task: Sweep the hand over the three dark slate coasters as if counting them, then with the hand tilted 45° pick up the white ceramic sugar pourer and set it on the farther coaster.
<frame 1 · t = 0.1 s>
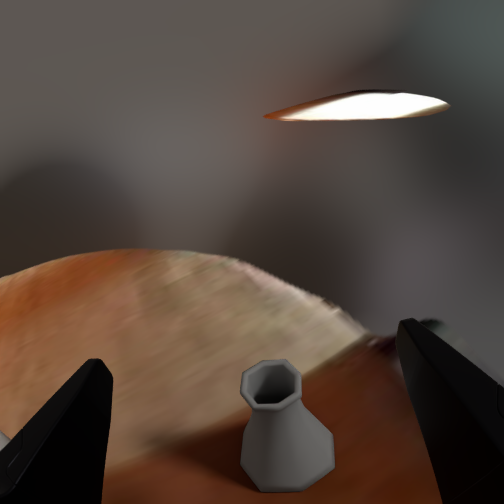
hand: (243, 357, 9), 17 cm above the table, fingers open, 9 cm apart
flask: (287, 453, 21), on the table
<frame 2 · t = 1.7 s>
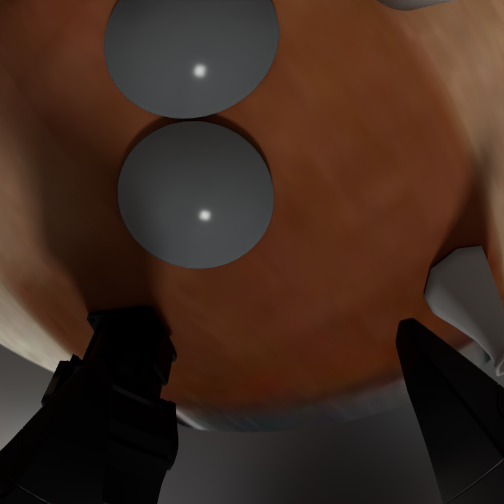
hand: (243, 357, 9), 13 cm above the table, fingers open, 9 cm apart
coaster 2: (194, 198, 20), on the table
flask: (455, 277, 24), on the table
coaster mid: (188, 36, 15), on the table
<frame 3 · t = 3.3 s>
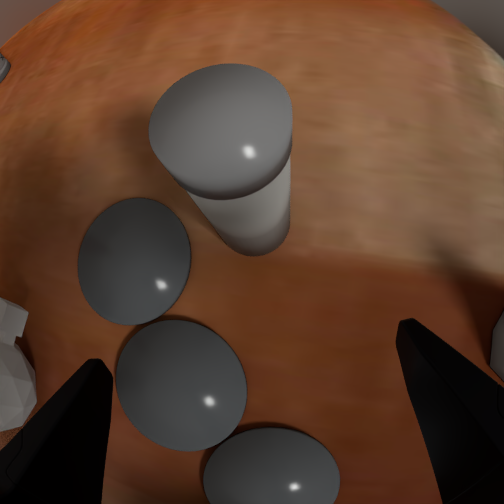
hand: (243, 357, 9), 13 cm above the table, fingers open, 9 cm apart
perfume bottle: (29, 368, 23), on the table
coaster 2: (271, 484, 19), on the table
sugar pourer: (254, 221, 24), on the table
coaster 1: (131, 260, 24), on the table
coaster mid: (178, 387, 22), on the table
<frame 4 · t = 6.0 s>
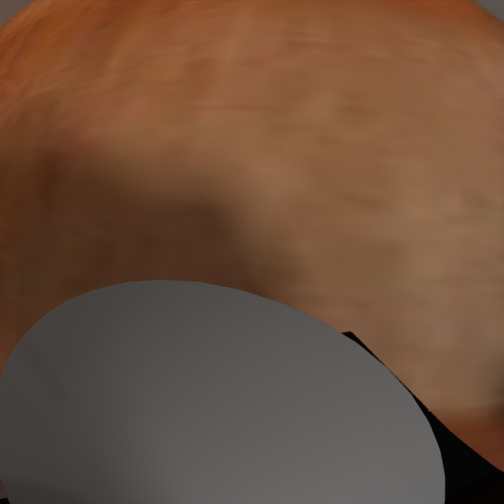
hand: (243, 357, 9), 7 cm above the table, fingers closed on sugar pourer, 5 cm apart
perfume bottle: (4, 482, 14), on the table
sugar pourer: (266, 371, 15), on the table, touching gripper
when the fingers open (8 cm above the table, at t = 9.3 s): sugar pourer drops 1 cm, resting on coaster 1.
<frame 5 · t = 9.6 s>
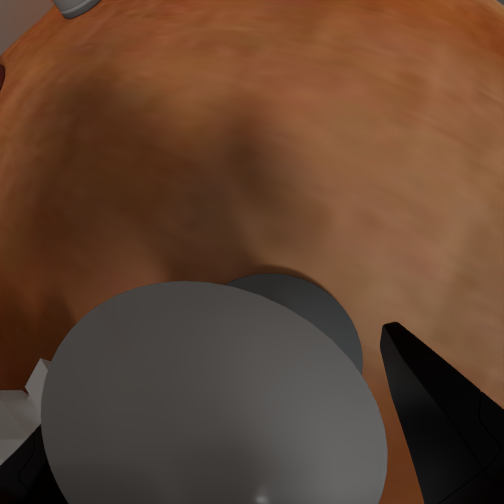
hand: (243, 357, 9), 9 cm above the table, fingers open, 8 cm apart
travel mug: (85, 4, 28), on the table
perfume bottle: (67, 434, 17), on the table
sugar pourer: (268, 369, 16), point 1 cm above the table, touching coaster 1
coaster 1: (268, 366, 17), on the table
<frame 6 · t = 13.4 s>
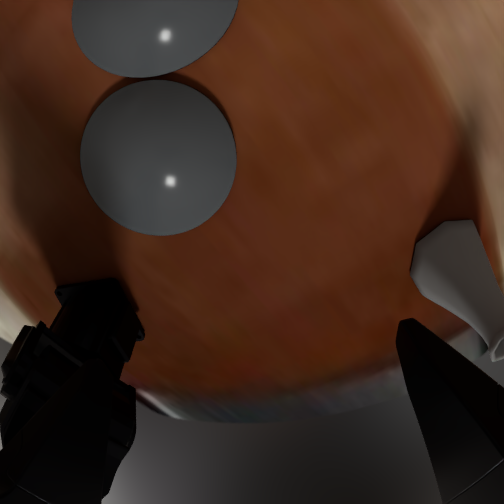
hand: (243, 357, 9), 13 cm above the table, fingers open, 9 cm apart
coaster 2: (154, 160, 19), on the table
flask: (444, 255, 23), on the table
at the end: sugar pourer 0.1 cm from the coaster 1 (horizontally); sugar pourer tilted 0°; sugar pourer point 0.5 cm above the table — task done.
